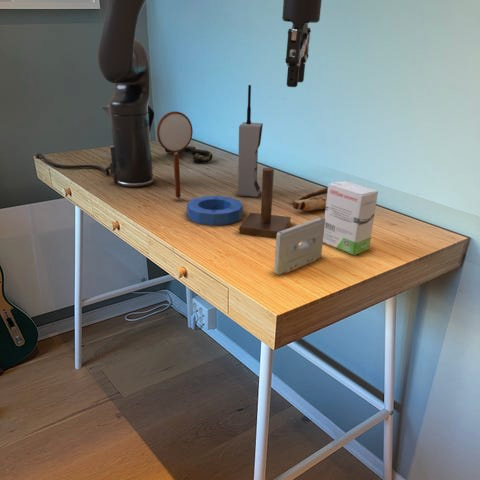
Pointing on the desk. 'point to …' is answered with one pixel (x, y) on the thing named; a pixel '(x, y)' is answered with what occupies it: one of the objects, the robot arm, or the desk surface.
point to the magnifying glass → (175, 139)
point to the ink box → (349, 216)
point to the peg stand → (265, 213)
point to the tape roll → (214, 210)
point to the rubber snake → (206, 154)
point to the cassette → (299, 255)
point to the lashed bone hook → (312, 201)
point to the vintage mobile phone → (248, 154)
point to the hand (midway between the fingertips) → (295, 84)
